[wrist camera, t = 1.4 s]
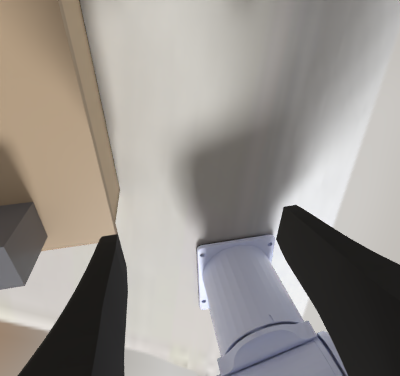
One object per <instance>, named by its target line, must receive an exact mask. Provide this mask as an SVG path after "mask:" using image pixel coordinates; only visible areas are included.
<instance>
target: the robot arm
mask: <svg viewBox="0 0 400 376" xmlns="http://www.w3.org/2000/svg"><path fill="white" fill-rule="evenodd" d="M276 240H277V242H278V244H279V247H280V249H281V251H282V253H283V255H284V257H285V259H286V261H287V263H288V264H289V266H290V268H291V269H292V271H293V273H294V274H295V276H296V277H297V279H298V281H299V282H300V284H301V285H302V287H303V288H304V290H305V292H306V293H307V295H308V296H309V298H310V300H311V301H312V303H313V305H314V306H315V308H316V309H317V311H318V313H319V315H320V317H321V319H322V321H323V323H324V325H325V327H326V329H327V331H328V333H329V334H328V333H327V332H325V331H321V332H319V333H317V335H316V333H315V331H314V330H313V328H312V326H311V324H310V323H309V321H305V322H304V320H303V319H302V317H301V315H300V313H299V312H298V310H297V308H296V306H295V305H294V303H293V301H292V299H291V298H290V296H289V294H288V292H287V291H286V289H285V287H284V285H283V284H282V282H281V280H280V278H279V277H278V275H277V273H276V271H275V270H274V268H273V266H272V264H271V262H272V256H273V249H274V243H275V238H274V236H273V235H264V236H257V237H251V238H245V239H238V240H232V241H226V242H219V243H213V244H206V245H201V246H199V247H198V248H197V265H198V287H199V306H200V309H202V310H205V309H209V310H210V314H211V318H212V322H213V326H214V330H215V334H216V338H217V342H218V346H219V350H220V354H221V357H220V358H218V359H217V361H218V365H219V370H220V374H219V375H217V376H400V265H399V264H397V263H395V262H393V261H391V260H389V259H387V258H385V257H383V256H381V255H379V254H377V253H375V252H373V251H371V250H369V249H367V248H366V247H364V246H362V245H361V244H359V243H357V242H355V241H353V240H351V239H350V238H348V237H347V236H345V235H343V234H342V233H340V232H338V231H337V230H335V229H334V228H332V227H331V226H329V225H327V224H326V223H324V222H323V221H321V220H320V219H318V218H316V217H315V216H313V215H312V214H310V213H309V212H307V211H305V210H304V209H302V208H301V207H299V206H297V205H293V206H287V207H284V208H283V212H282V217H281V221H280V225H279V230H278V234H277V238H276ZM268 243H269V244H268ZM202 253H204V254H202ZM127 296H128V285H127V267H126V263H125V259H124V255H123V252H122V248H121V244H120V240H119V237H118V234H114V235H108V236H102V237H101V238H100V239H99V242H98V244H97V247H96V249H95V252H94V254H93V256H92V258H91V260H90V263H89V265H88V267H87V269H86V271H85V273H84V275H83V277H82V278H81V280H80V282H79V284H78V286H77V288H76V290H75V292H74V293H73V295H72V297H71V298H70V300H69V302H68V304H67V305H66V307H65V309H64V310H63V312H62V314H61V315H60V317H59V318H58V320H57V321H56V323H55V325H54V326H53V328H52V329H51V331H50V332H49V334H48V335H47V336H46V338H45V339H44V341H43V342H42V344H41V345H40V346H39V348H38V349H37V350H36V352H35V353H34V355H33V356H32V357H31V359H30V360H29V361H28V363H27V364H26V366H25V367H24V368H23V369H22V371H21V372H20V373H19V375H18V376H124V345H125V329H126V313H127Z"/></svg>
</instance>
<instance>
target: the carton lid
mask: <svg viewBox="0 0 400 376" xmlns="http://www.w3.org/2000/svg"><path fill="white" fill-rule="evenodd" d="M114 234H118V233H117V228H116V224H115V220H114V216H113V212H112V208H111V204H110V199H109V195H108V191H107V187H106V183H105V179H104V175H103V170H102V166H101V162H100V158H99V154H98V150H97V146H96V141H95V137H94V133H93V129H92V125H91V121H90V117H89V112H88V108H87V104H86V100H85V96H84V92H83V88H82V83H81V79H80V75H79V71H78V67H77V63H76V59H75V54H74V50H73V46H72V42H71V38H70V34H69V30H68V25H67V21H66V17H65V13H64V9H63V5H62V1H61V0H0V290H1V289H7V288H14V287H20V286H25V284H26V282H27V280H28V278H29V276H30V274H31V271H32V269H33V267H34V265H35V263H36V261H37V259H38V256H39V254H40V252H41V251H46V250H53V249H60V248H66V247H73V246H80V245H87V244H94V243H98V242H99V239H100V238H101V237H102V236H108V235H114Z"/></svg>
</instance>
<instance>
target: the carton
mask: <svg viewBox="0 0 400 376" xmlns="http://www.w3.org/2000/svg"><path fill="white" fill-rule="evenodd" d="M61 1H62V5H63V9H64V13H65V17H66V21H67V25H68V30H69V34H70V38H71V42H72V46H73V50H74V54H75V59H76V63H77V67H78V71H79V75H80V79H81V83H82V88H83V92H84V96H85V100H86V104H87V108H88V112H89V117H90V121H91V125H92V129H93V133H94V137H95V141H96V146H97V150H98V154H99V158H100V162H101V166H102V170H103V175H104V179H105V183H106V187H107V191H108V195H109V199H110V204H111V208H112V212H113V216H114V220H115V221H116V214H117V207H118V199H119V192H120V189H119V184H118V179H117V175H116V170H115V165H114V161H113V156H112V151H111V146H110V142H109V137H108V132H107V128H106V123H105V118H104V114H103V109H102V104H101V100H100V95H99V90H98V85H97V81H96V76H95V71H94V67H93V62H92V57H91V53H90V48H89V43H88V39H87V34H86V29H85V24H84V20H83V15H82V10H81V6H80V1H79V0H61Z"/></svg>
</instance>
